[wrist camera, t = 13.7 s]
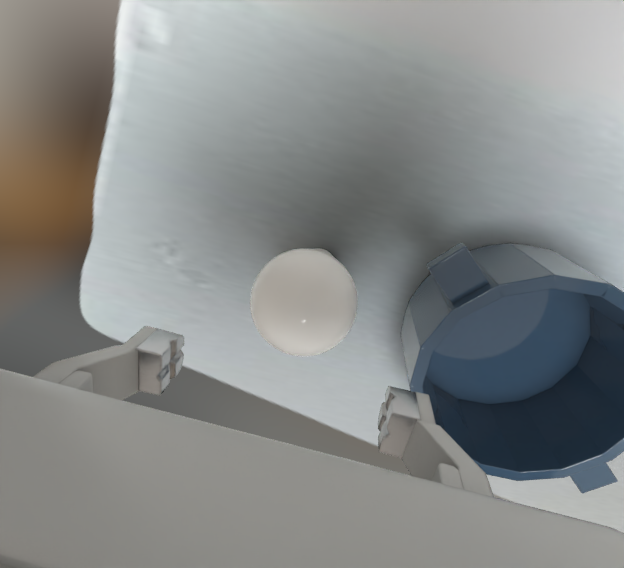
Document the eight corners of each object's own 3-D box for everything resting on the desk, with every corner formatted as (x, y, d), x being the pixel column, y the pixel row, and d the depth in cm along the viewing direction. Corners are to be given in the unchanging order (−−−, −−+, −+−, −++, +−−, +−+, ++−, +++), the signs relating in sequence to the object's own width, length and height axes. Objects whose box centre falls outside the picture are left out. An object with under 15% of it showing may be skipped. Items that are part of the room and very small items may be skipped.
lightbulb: (357, 301, 30) (353, 383, 20) (280, 296, 31) (238, 373, 21) (362, 224, 28) (359, 272, 18) (279, 220, 29) (231, 265, 18)
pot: (524, 170, 25) (583, 180, 18) (647, 382, 29) (731, 455, 22) (347, 284, 30) (341, 325, 23) (474, 453, 34) (502, 531, 27)
